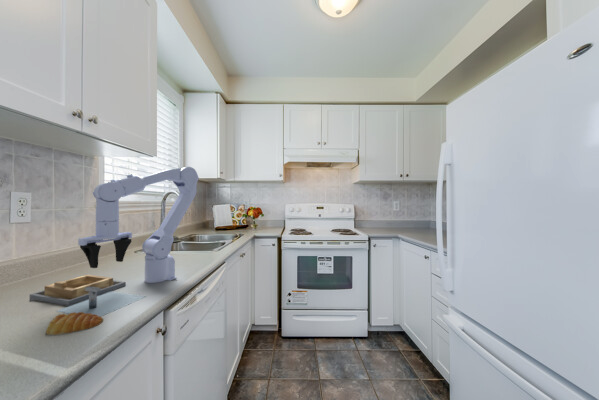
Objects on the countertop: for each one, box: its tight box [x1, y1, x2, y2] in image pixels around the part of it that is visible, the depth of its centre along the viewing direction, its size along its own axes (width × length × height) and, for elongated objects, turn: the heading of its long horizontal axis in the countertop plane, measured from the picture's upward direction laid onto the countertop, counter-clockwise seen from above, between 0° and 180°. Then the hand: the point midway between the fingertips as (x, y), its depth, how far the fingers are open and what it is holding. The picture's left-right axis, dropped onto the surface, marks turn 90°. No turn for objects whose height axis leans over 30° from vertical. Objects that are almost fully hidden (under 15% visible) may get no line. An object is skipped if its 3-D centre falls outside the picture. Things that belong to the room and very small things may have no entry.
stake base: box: [56, 290, 147, 317], centre depth 67 cm, size 14×14×1 cm
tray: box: [28, 279, 127, 307], centre depth 75 cm, size 16×16×2 cm
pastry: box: [45, 312, 104, 336], centre depth 55 cm, size 9×7×4 cm
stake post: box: [85, 286, 101, 309], centre depth 64 cm, size 2×4×5 cm, turn 74°
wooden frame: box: [44, 274, 114, 300], centre depth 75 cm, size 11×11×5 cm
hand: (107, 264), depth 76 cm, fingers open, 7 cm apart
